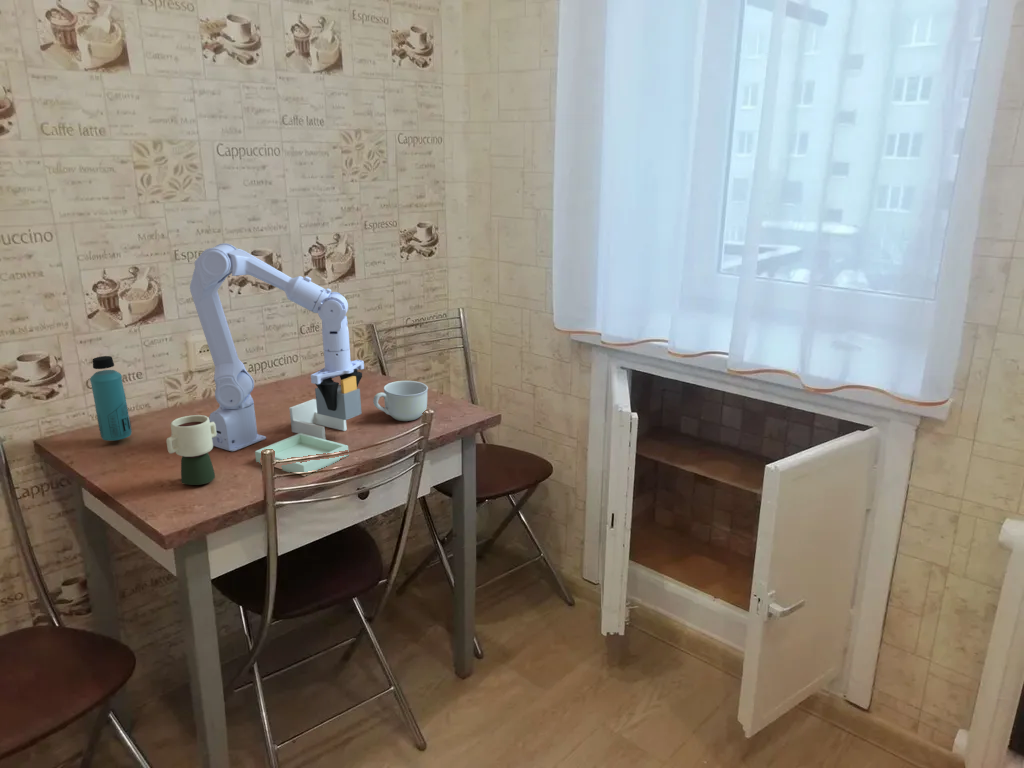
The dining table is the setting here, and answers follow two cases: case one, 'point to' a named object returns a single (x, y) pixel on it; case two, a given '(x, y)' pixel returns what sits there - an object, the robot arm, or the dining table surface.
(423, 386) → the teacup
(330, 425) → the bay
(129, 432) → the beverage bottle
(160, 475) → the dining table surface
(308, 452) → the tray
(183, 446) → the character mug
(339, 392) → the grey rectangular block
